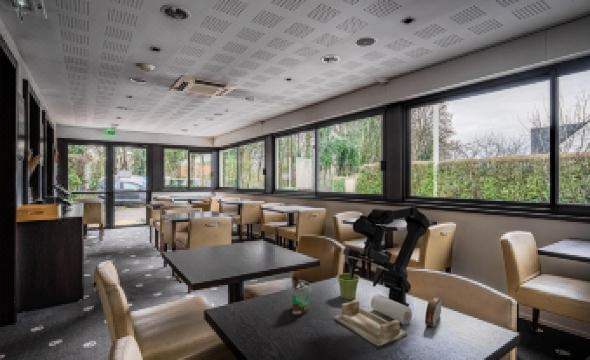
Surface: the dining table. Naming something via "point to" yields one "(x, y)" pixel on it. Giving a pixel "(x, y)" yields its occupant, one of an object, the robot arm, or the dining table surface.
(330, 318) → the dining table surface
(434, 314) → the tin
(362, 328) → the holder
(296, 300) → the food container
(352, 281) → the plant pot
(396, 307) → the paper roll
